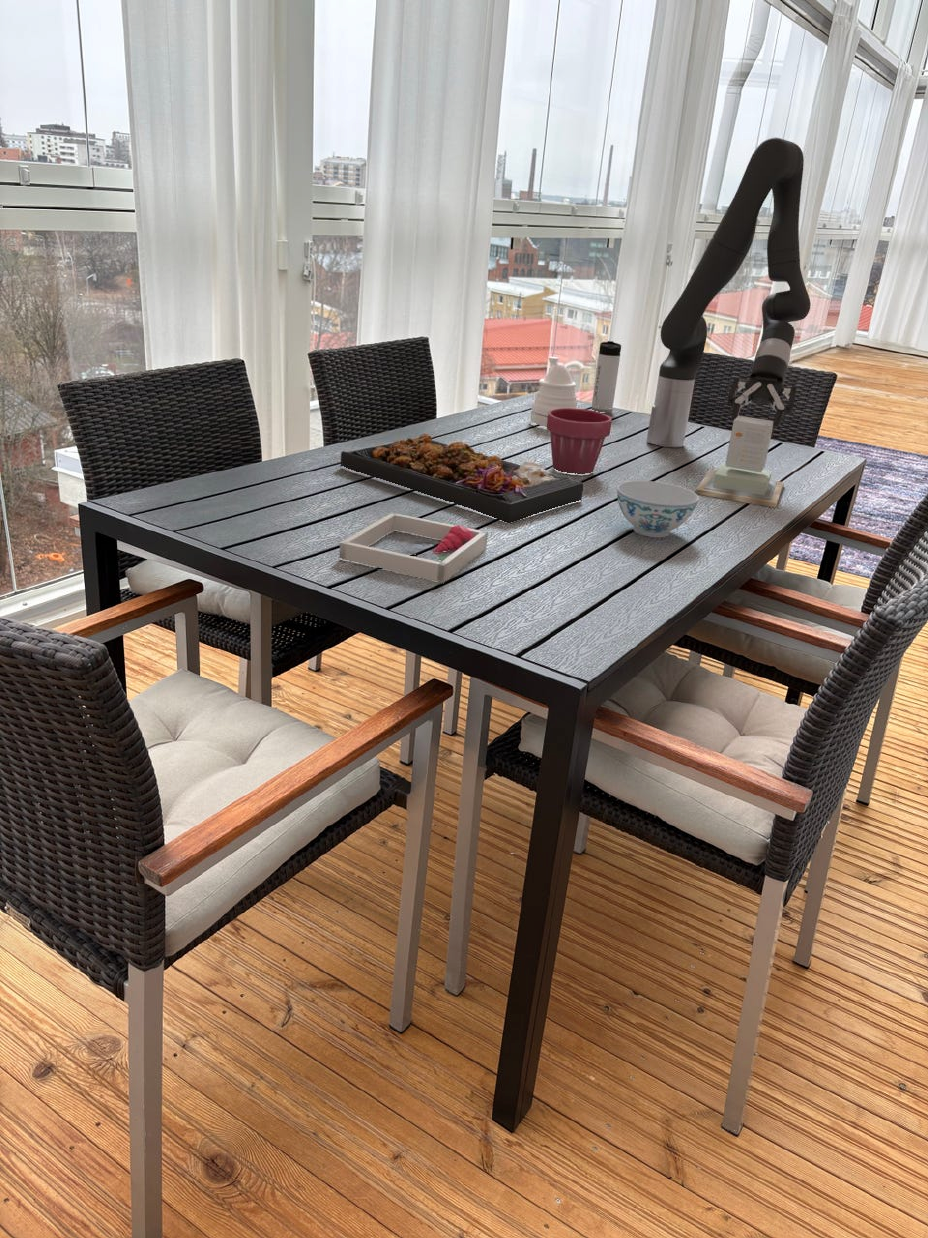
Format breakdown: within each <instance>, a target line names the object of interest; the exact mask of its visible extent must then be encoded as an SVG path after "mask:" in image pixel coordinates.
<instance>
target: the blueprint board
mask: <svg viewBox="0 0 928 1238" xmlns="http://www.w3.org/2000/svg"><path fill="white" fill-rule="evenodd" d="M717 471H718V470H713V469H709V470H708V471H707V473H706V474H705V476H704V477H703V479H702V480H701V481H700V482H699V485H697V487H696V488H695V492H694V493H696V494H697V495H701V496H707V497H710V498H711V497H712V498H718V499H723V500H724V499H725V500H728V501H734V502H740V503H747V504H752V505H758V506H762V507H767V508H768V507H769V508H773V509H775V508H776V509H777V505H778V502H779V499H780V497H781V494H782V491H783V488H784V485H785V482H783V481H778V480H773V479H770V482H769V485H768V487H767V490H766V492H765V495H758V494H753V493H747V492H741V491H736V490H730V489H724V488H718V487H713V483H714V478H715V474H716V472H717Z"/></svg>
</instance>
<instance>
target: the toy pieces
mask: <svg viewBox="0 0 928 1238" xmlns="http://www.w3.org/2000/svg"><path fill="white" fill-rule="evenodd" d="M467 528H468V527H465V526H464V525H455V526H454V527H452V528H451V529H450V531H449V533H448V534H447V535H446V536H445V537H444V539H443V540H442V541H439V543H438V544H437V546H436V545H435V546H436V548H435V549H433V550H432V552H440V553H441V552H443V551H448V550H450V551H451V552H453V550H454V549H456V550H454V551H457V550H458V549H459V548H461V547H462V546H463V542H462V540H465V541H470V540H471V539H472V538H473V535H472V534H471V532H470V531H469V530H468V529H467ZM421 543H422V544H419V545H422V546H430V545H429V544H427V543H428V542H421ZM450 551H448V552H450ZM443 553H444V552H443ZM413 554H414V555H416V554H417V553H413ZM438 557H439V560H441V561H443V560H445V559H446V558H447V557H448V556H438Z"/></svg>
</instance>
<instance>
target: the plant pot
mask: <svg viewBox="0 0 928 1238" xmlns="http://www.w3.org/2000/svg"><path fill="white" fill-rule="evenodd" d="M612 421H613V420H612V417H611V416H610V415H607V414H603V413H600V412H596V411H592V410H591V409H584V408H579V409H575V408H560V409H553V410H551V411H549V412H548V419H547V429H548V430H547V431H549V435H550V436H549V439H550V449H551V452H550V453H551V459H552V460H551V461H552V469H553V468H554V469H556V470H558V471H561V472H567V473H575V474H576V473H577V474H585V473H591V472H593V473H594V470H595V467H596V464H597V462H598V459H599V456H600V454H601V451H602V448H603V446H604V443H605V439H606V438H607V437H609V436H610V434H611V429H612ZM554 469H553V470H554Z"/></svg>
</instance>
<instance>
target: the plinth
mask: <svg viewBox="0 0 928 1238" xmlns="http://www.w3.org/2000/svg"><path fill="white" fill-rule="evenodd" d="M725 464H726V462H721V464H720V466H719V467H718V469H717V470H716V471H717V472H716V474H715V478H714V483H713V487H718V488H724V489H730V490H736V491H741V492H747V493H753V494H758V495H765V492H766V490H767V487H768V485H769V482H770V480H771V476H772V472H773V471H772V470H768V469H763V470H762V471H761V473H760V472H754V471H748V470H743V469H737V468H731V467H726V466H725Z"/></svg>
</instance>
